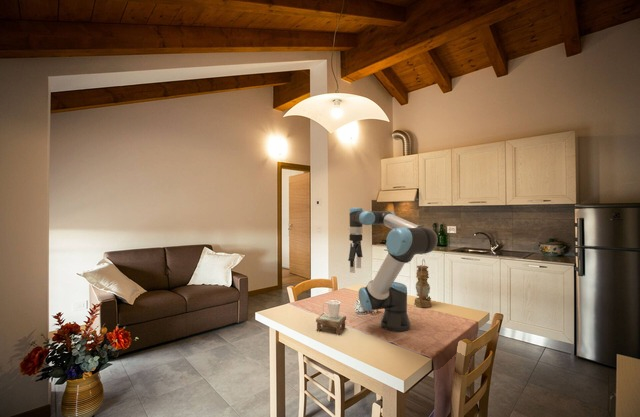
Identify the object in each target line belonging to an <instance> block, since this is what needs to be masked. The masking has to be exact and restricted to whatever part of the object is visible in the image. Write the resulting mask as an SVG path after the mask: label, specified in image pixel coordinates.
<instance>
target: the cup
mask: <svg viewBox="0 0 640 417" xmlns="http://www.w3.org/2000/svg"><path fill="white" fill-rule="evenodd" d="M325 305H327V311H328V313H327V314H329V315H330V316H329V315H327V314H326V311H324V306H325ZM340 307H341V301H339V300H337V299H335V300H332V299H331V300H328V301H327V302H324V303H323V304H322V307H321V310H322V313H324V314H325V315H327V316H328V317H330V318H331V319H337V318H338V315H340V314H339V312H340Z"/></svg>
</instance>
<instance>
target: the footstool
mask: <svg viewBox="0 0 640 417" xmlns="http://www.w3.org/2000/svg"><path fill="white" fill-rule="evenodd" d="M325 313H326V312H325ZM323 314H324V312H322V314H320V315H319V316H318V317H317V318H316V319H315V323H316V331H317V332H321V331H322V326H325V327H327V326H328V327H333V328H336V335H341V330H345V329H346V320H347V316H345V315H343V316H344V317H343V318H342V319H341V320H340V322H335V321H329V320H322V319H319V318H320V317H321V316H322V315H323ZM326 314H328V313H326ZM338 315H339V316H341V315H340V314H338Z"/></svg>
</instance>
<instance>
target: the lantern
mask: <svg viewBox="0 0 640 417" xmlns="http://www.w3.org/2000/svg"><path fill="white" fill-rule="evenodd" d="M423 263H426V261H425V259H422V260H421V264H419V265H416V268H417V270H416V276H415V277H416V278H417V282H416V283H415V290H416V296H417V297H416V298H415V299H414V306H415V305H416V306H415V307H417V306H418V307H417V308H421V307H429V308H431V307H432V303H431V301H432V298H431V297H430V296H429V294H430V293H431V292H430V291H431V285H430V284H429V281H428V279H429V278H430V276H429V270H428V269H429V266H427V265H424V264H423Z"/></svg>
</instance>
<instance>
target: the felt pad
mask: <svg viewBox="0 0 640 417" xmlns="http://www.w3.org/2000/svg"><path fill="white" fill-rule="evenodd" d="M322 314H323V313H322ZM322 314H321V315H322ZM327 315H329V313H327ZM327 315H325V314H323V315H322V316H321V317H320V318H319V319H322V320H329V321H335V322H340V320H341V319H342V318H343V317H344V316H345V315H340V314H338V318H337V319H331V318H330V317H328V316H327ZM339 315H340V316H339ZM329 316H330V315H329Z"/></svg>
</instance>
